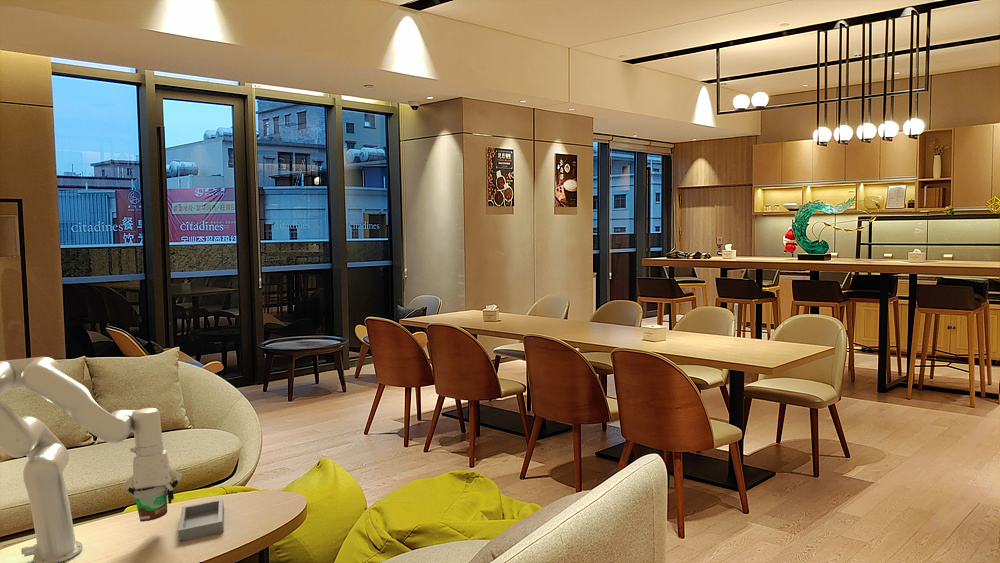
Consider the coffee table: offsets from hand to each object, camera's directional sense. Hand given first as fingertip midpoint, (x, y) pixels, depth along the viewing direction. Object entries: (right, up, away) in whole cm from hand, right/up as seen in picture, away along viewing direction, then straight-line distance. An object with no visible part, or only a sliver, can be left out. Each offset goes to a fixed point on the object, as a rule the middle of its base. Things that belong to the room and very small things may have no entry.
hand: (155, 504), depth 226 cm
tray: (+12, -8, +5) cm, 16 cm away
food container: (+1, -4, +1) cm, 4 cm away
